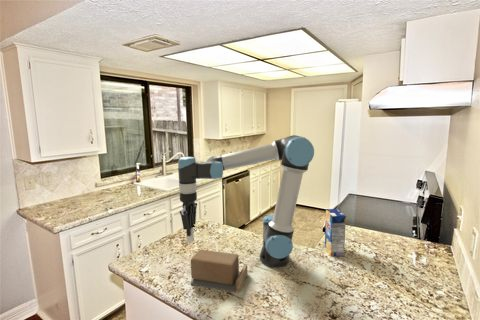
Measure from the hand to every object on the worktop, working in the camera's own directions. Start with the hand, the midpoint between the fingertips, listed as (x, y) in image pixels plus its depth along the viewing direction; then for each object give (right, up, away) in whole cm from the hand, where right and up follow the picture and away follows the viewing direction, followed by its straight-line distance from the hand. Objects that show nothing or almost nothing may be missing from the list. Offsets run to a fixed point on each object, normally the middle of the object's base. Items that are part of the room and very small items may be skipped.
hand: (190, 241), depth 121 cm
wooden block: (+2, -11, +2) cm, 11 cm away
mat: (+13, -17, -1) cm, 21 cm away
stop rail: (+24, -17, -4) cm, 29 cm away
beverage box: (+74, -12, +22) cm, 78 cm away
